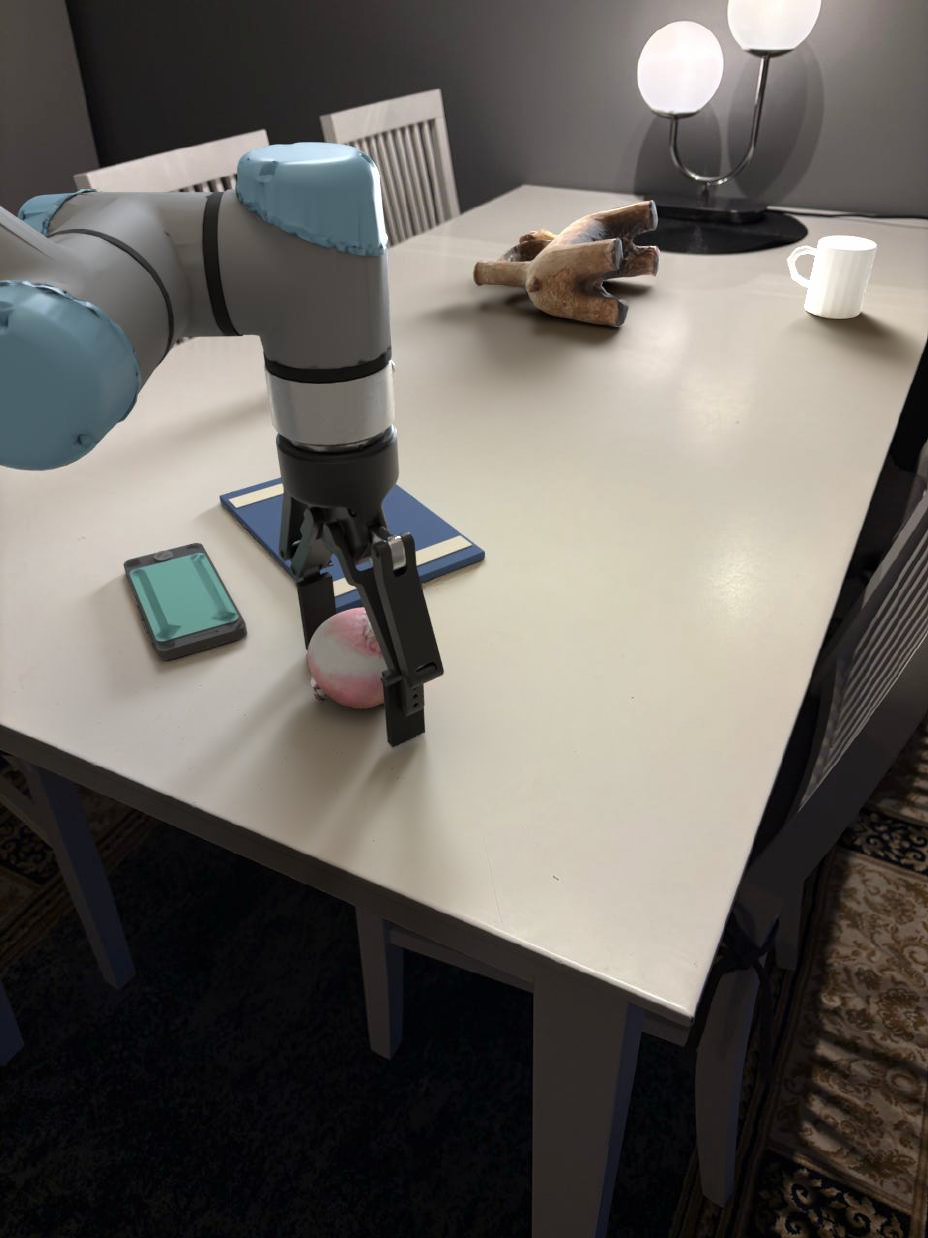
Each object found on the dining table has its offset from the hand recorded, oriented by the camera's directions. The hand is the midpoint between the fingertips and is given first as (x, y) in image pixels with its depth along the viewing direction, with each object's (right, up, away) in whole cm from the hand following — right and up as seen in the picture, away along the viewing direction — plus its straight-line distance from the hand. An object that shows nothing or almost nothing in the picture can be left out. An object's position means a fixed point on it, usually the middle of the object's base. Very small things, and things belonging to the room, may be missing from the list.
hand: (362, 689), depth 69 cm
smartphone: (-17, +7, +10) cm, 20 cm away
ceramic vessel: (+24, +57, +76) cm, 98 cm away
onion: (0, 0, 0) cm, 0 cm away
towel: (-4, +14, +19) cm, 24 cm away
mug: (+62, +53, +70) cm, 107 cm away
